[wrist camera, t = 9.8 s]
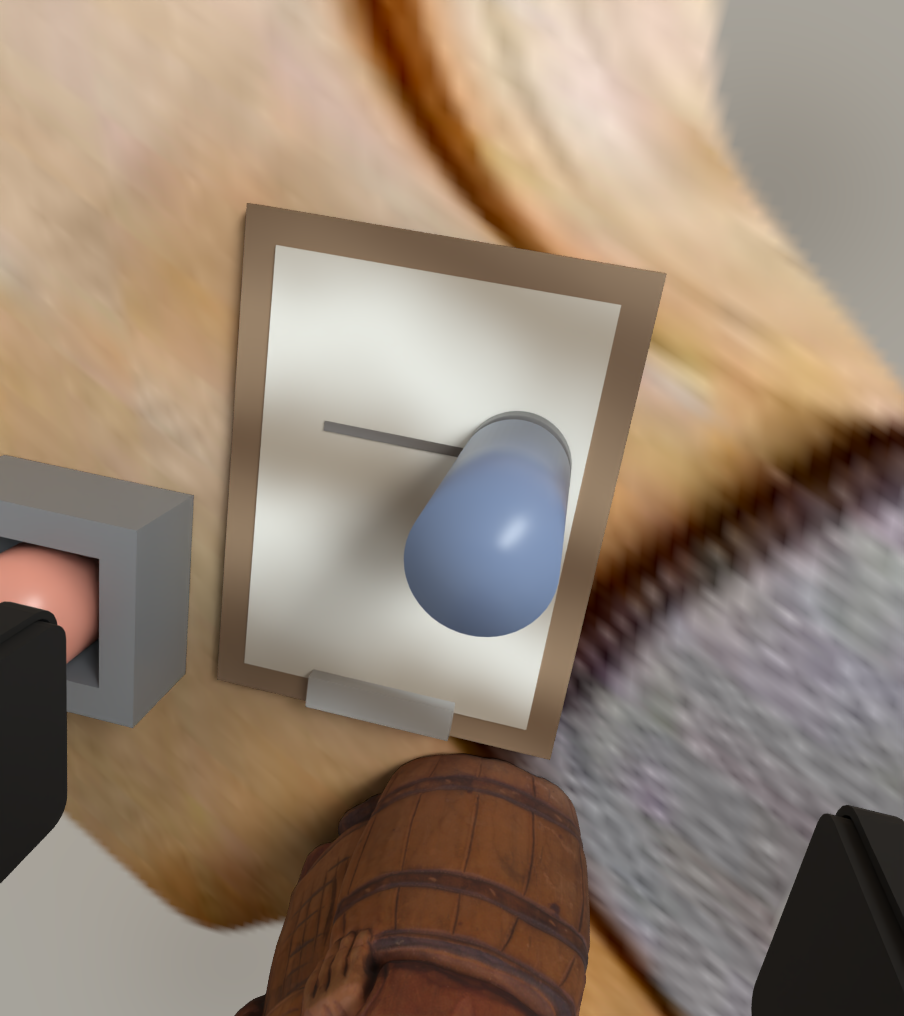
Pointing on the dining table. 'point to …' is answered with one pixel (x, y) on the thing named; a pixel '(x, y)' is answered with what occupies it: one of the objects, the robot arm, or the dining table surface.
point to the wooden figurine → (440, 902)
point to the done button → (55, 589)
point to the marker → (494, 529)
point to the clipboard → (410, 461)
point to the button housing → (112, 577)
